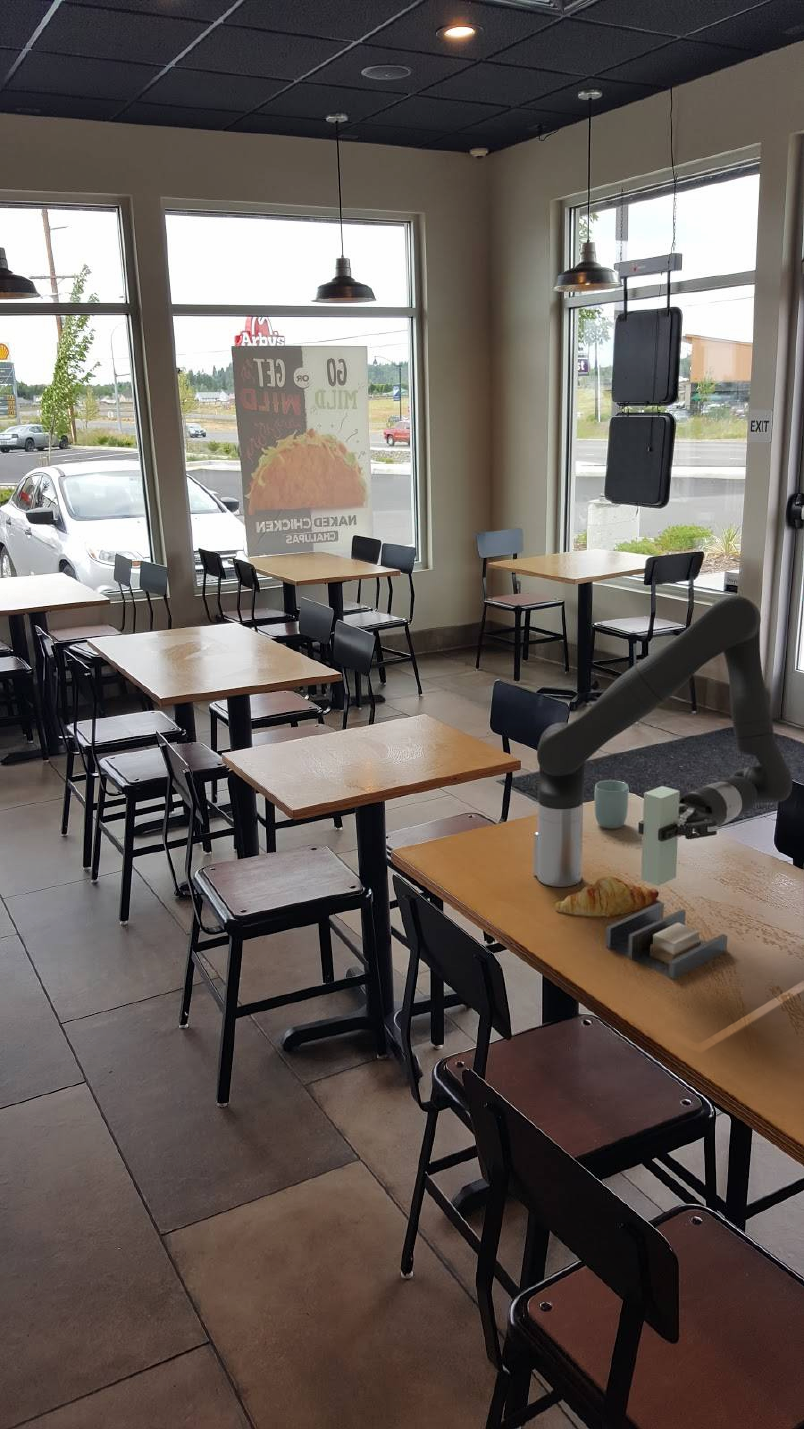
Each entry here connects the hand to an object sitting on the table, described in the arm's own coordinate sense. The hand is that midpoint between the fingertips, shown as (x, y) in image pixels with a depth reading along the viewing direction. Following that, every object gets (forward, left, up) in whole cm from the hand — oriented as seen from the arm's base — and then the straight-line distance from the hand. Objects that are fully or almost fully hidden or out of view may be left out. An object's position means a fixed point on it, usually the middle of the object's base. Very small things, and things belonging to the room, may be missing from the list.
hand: (650, 832), depth 183 cm
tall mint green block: (0, +3, -9) cm, 10 cm away
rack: (-1, +7, -26) cm, 27 cm away
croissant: (-20, +13, -26) cm, 35 cm away
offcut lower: (+1, +7, -25) cm, 26 cm away
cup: (-48, +46, -26) cm, 71 cm away
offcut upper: (+1, +7, -23) cm, 24 cm away
